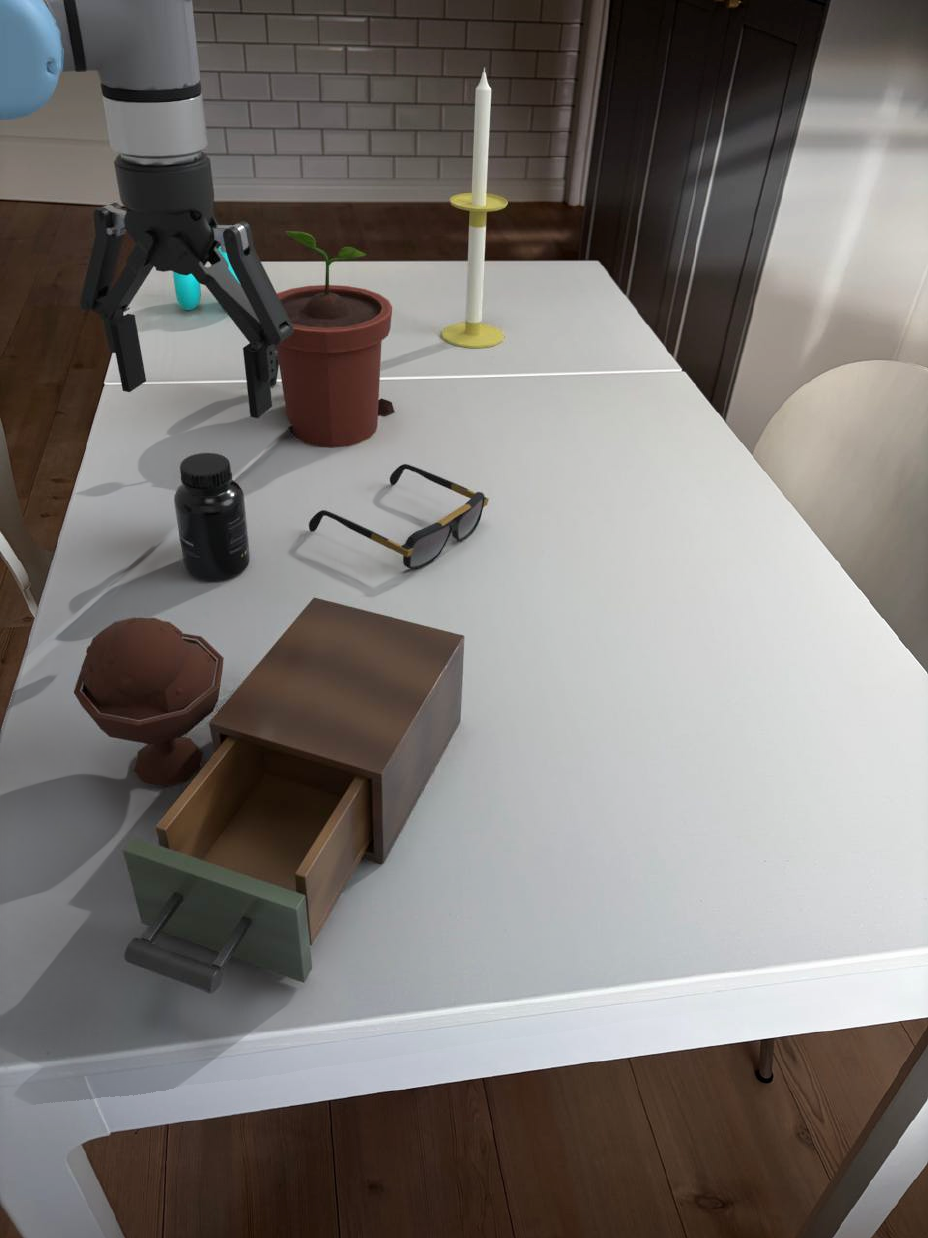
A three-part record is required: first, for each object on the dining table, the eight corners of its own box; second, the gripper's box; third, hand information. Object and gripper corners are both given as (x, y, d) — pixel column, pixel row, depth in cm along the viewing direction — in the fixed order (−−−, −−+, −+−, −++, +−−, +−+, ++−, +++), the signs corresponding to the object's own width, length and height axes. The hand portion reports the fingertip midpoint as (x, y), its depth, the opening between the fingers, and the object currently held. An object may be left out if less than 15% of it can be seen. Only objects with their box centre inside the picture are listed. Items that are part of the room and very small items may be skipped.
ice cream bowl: (263, 746, 83) (245, 602, 74) (168, 834, 75) (135, 685, 66) (169, 700, 87) (141, 558, 78) (69, 778, 79) (25, 631, 70)
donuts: (181, 297, 165) (172, 236, 159) (242, 296, 167) (236, 235, 161) (178, 319, 157) (169, 255, 151) (242, 317, 159) (236, 254, 153)
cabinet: (383, 864, 74) (381, 774, 68) (223, 812, 77) (208, 722, 71) (460, 721, 86) (464, 635, 80) (319, 682, 90) (313, 596, 84)
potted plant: (254, 456, 123) (233, 250, 107) (266, 382, 140) (249, 196, 125) (397, 454, 124) (396, 251, 109) (392, 382, 141) (390, 198, 126)
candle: (443, 322, 160) (449, 59, 138) (504, 325, 160) (521, 63, 138) (439, 346, 152) (445, 71, 130) (504, 349, 152) (521, 75, 130)
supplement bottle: (172, 577, 102) (154, 474, 94) (202, 542, 107) (187, 442, 100) (235, 588, 100) (221, 485, 93) (261, 552, 106) (251, 452, 98)
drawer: (265, 1054, 61) (253, 981, 56) (94, 987, 64) (69, 913, 59) (397, 815, 76) (397, 742, 72) (255, 771, 79) (245, 698, 75)
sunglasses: (391, 483, 118) (390, 445, 115) (494, 527, 111) (496, 489, 108) (308, 531, 109) (306, 491, 106) (415, 582, 102) (415, 542, 99)
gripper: (322, 160, 79) (335, 405, 92) (61, 127, 85) (108, 361, 98) (277, 182, 73) (297, 440, 86) (1, 145, 80) (59, 391, 93)
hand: (196, 398), depth 92 cm, fingers open, 13 cm apart
